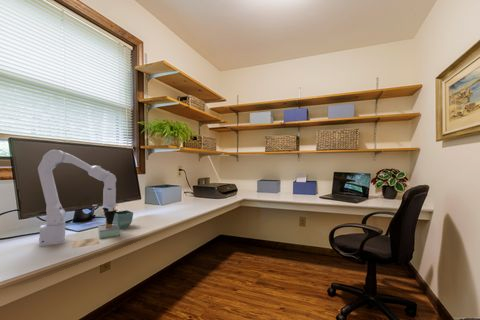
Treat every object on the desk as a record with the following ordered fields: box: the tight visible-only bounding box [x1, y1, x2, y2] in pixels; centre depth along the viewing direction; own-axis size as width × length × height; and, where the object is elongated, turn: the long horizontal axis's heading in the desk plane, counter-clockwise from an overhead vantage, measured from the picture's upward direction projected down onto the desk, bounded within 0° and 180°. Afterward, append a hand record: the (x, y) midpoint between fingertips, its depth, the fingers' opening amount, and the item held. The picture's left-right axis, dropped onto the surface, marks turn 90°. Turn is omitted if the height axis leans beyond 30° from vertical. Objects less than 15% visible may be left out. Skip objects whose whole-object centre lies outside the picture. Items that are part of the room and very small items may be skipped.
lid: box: [97, 216, 119, 232], centre depth 119 cm, size 9×9×6 cm
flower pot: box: [113, 210, 134, 230], centre depth 133 cm, size 9×9×9 cm
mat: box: [72, 236, 100, 249], centre depth 108 cm, size 10×10×1 cm
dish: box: [97, 229, 121, 240], centre depth 119 cm, size 9×9×4 cm
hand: (109, 222), depth 119 cm, fingers open, 7 cm apart
